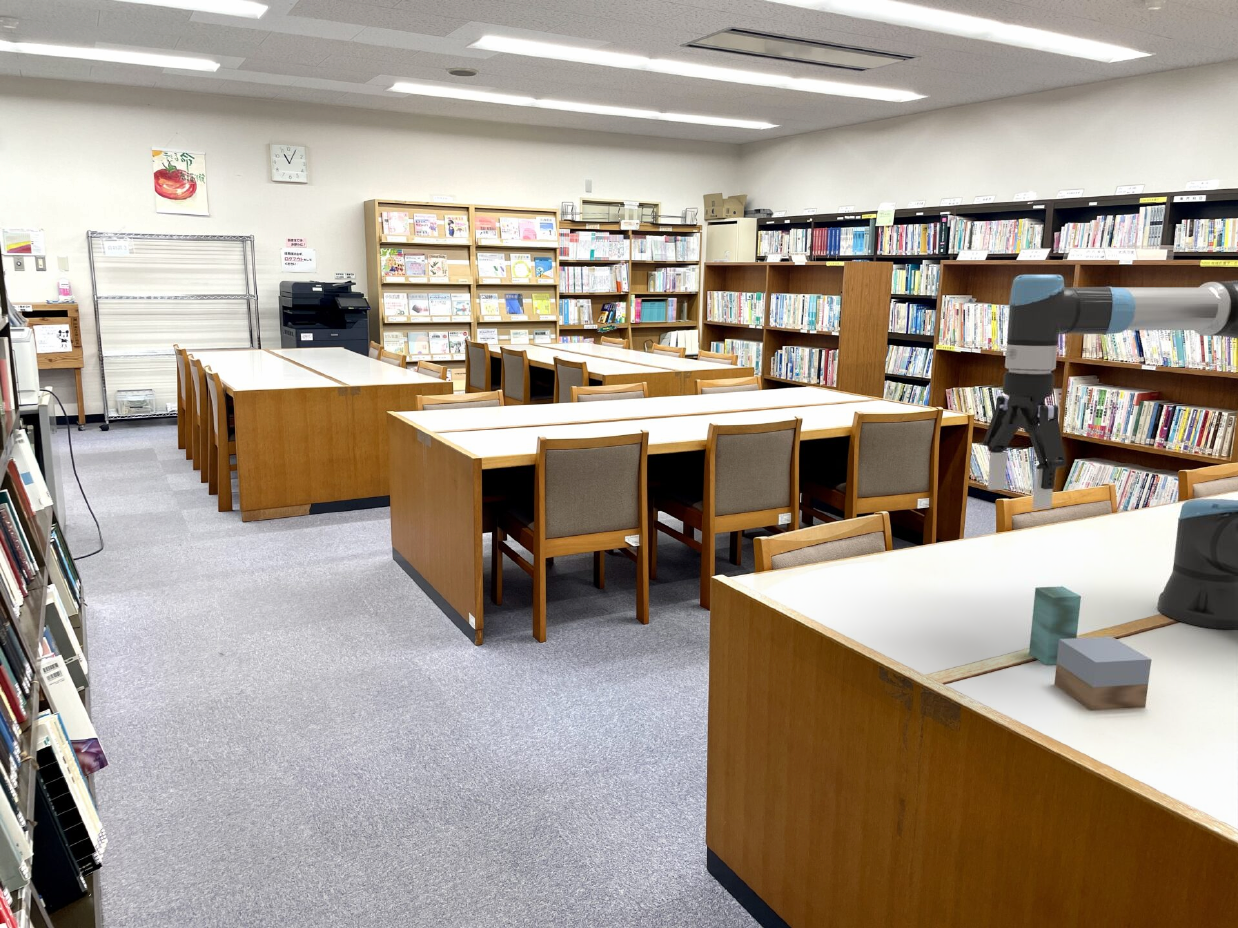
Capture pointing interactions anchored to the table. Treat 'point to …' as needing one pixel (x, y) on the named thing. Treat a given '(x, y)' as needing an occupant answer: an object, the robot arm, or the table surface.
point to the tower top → (1103, 661)
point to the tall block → (1053, 621)
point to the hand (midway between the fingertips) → (1017, 498)
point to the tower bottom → (1100, 692)
